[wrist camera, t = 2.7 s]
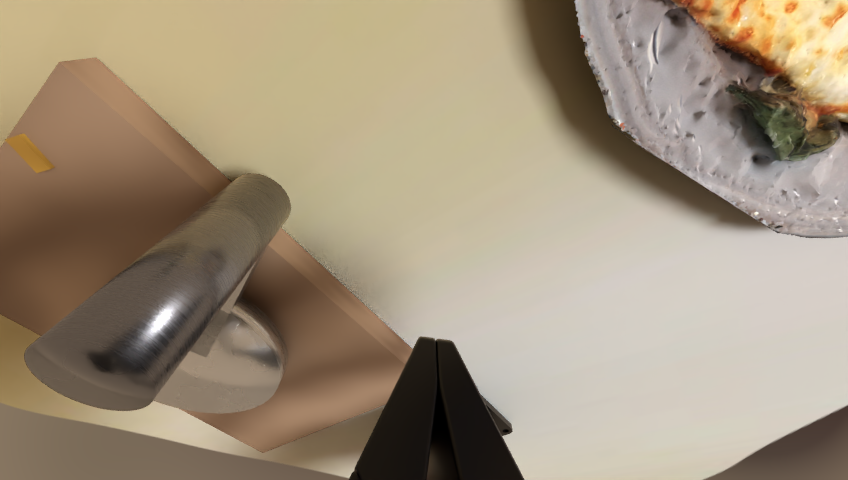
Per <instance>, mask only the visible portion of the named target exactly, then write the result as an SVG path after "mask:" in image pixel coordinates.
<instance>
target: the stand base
mask: <svg viewBox="0 0 848 480" xmlns="http://www.w3.org/2000/svg"><path fill="white" fill-rule="evenodd" d="M230 183H232V182H231V181H230V180H228V179H227V178H226V177H225V176H224V175H223V174H222V173H221V172H220V171H219V170H218V169H217V168H215V167H214V166H213V165H212V164H211V163H210V162H209V161H208V160H207V159H206V158H205V157H204V156H202V155H201V154H200V153H199V152H198V151H197V150H196V149H195V148H194V147H193V146H192V145H191V144H189V143H188V142H187V141H186V140H185V139H184V138H183V137H182V136H181V135H180V134H179V133H177V132H176V131H175V130H174V129H173V128H172V127H171V126H170V125H169V124H168V123H167V122H166V121H164V120H163V119H162V118H161V117H160V116H159V115H158V114H157V113H156V112H155V111H154V110H153V109H151V108H150V107H149V106H148V105H147V104H146V103H145V102H144V101H143V100H142V99H141V98H140V97H138V96H137V95H136V94H135V93H134V92H133V91H132V90H131V89H130V88H129V87H128V86H127V85H125V84H124V83H123V82H122V81H121V80H120V79H119V78H118V77H117V76H116V75H115V74H113V73H112V72H111V71H110V70H109V69H108V68H107V67H106V66H105V65H104V64H103V63H102V62H100V61H99V60H98V59H97V58H89V59H80V60H72V61H64V62H59V63H58V64H57V66H56V67H55V69H54V70H53V72H52V73H51V75H50V76H49V78H48V79H47V81H46V82H45V83H44V85H43V86H42V88H41V89H40V91H39V92H38V94H37V95H36V97H35V98H34V100H33V101H32V103H31V104H30V105H29V107H28V108H27V110H26V111H25V113H24V114H23V116H22V117H21V119H20V120H19V122H18V123H17V124H16V126H15V127H14V129H13V130H12V132H11V133H10V135H9V136H8V138H7V139H5V142H4V143H3V145H2V146H1V148H0V314H1V315H3V316H5V317H7V318H9V319H11V320H12V321H14V322H16V323H18V324H20V325H22V326H24V327H26V328H28V329H30V330H31V331H33V332H35V333H37V334H39V335H41V336H42V335H43V334H45V333H46V332H47V331H48V330H50V329H51V328H52V327H53V326H55V325H56V324H57V323H58V322H59V321H61V320H62V319H63V318H64V317H66V316H67V315H68V314H69V313H71V312H72V311H73V310H74V309H76V308H77V307H78V306H79V305H81V304H82V303H83V302H84V301H85V300H87V299H88V298H89V297H90V296H92V295H93V294H94V293H95V292H97V291H98V290H99V289H100V288H102V287H103V286H104V285H105V284H107V283H108V282H109V281H110V280H112V279H113V278H114V277H115V276H116V275H118V274H119V273H120V272H121V271H123V270H124V269H125V268H126V267H128V266H129V265H130V264H131V263H133V262H134V261H135V260H136V259H138V258H139V257H140V256H141V255H142V254H144V253H145V252H146V251H147V250H149V249H150V248H151V247H152V246H154V245H155V244H156V243H157V242H159V241H160V240H161V239H162V238H164V237H165V236H166V235H167V234H169V233H170V232H171V231H172V230H173V229H175V228H176V227H177V226H178V225H180V224H181V223H182V222H183V221H185V220H186V219H187V218H188V217H190V216H191V215H192V214H193V213H195V212H196V211H197V210H198V209H199V208H201V207H202V206H203V205H204V204H206V203H207V202H208V201H209V200H211V199H212V198H213V197H214V196H216V195H217V194H218V193H219V192H221V191H222V190H223V189H224V188H226V187H227V186H228V185H229V184H230ZM242 297H244V298H246V299H247V300H249V301H250V302H251V303H253V304H254V305H255V306H257V307H258V308H259V309H260V310H261V311H262V312H264V313H265V314H266V315H267V316H268V317H269V318H270V319H271V321H272V322H273V323H274V324H275V325H276V327H277V328H278V330H279V331H280V332H281V334H282V336H283V338H284V340H285V343H286V346H287V350H288V363H287V366H286V370H285V372H284V374H283V377H282V379H281V381H280V384H279V386H278V388H277V390H276V392H275V393H274V395H273V396H272V397H271V398H270V399H269V400H267V401H266V402H265V403H263V404H261V405H259V406H257V407H255V408H252V409H249V410H245V411H241V412H234V413H203V412H195V411H189V410H184V409H181V410H183V411H185V412H187V413H188V414H190V415H192V416H194V417H196V418H198V419H200V420H202V421H204V422H205V423H207V424H209V425H211V426H213V427H215V428H217V429H219V430H221V431H222V432H224V433H226V434H228V435H230V436H232V437H234V438H236V439H238V440H239V441H241V442H243V443H245V444H247V445H249V446H251V447H253V448H255V449H256V450H258V451H260V452H262V453H264V452H266V451H269V450H271V449H274V448H276V447H279V446H281V445H284V444H286V443H289V442H291V441H294V440H297V439H299V438H302V437H304V436H307V435H309V434H312V433H314V432H317V431H319V430H322V429H324V428H327V427H329V426H332V425H334V424H337V423H339V422H342V421H345V420H347V419H350V418H352V417H355V416H357V415H360V414H362V413H365V412H367V411H370V410H372V409H375V408H377V407H380V406H382V405H385V404H386V403H387V401H388V399H389V397H390V395H391V393H392V391H393V389H394V387H395V385H396V383H397V381H398V379H399V377H400V375H401V373H402V371H403V369H404V367H405V365H406V362H407V360H408V358H409V356H410V354H411V352H412V350H413V349H412V348H411V347H410V346H409V345H408V344H406V343H405V342H404V341H403V340H402V339H401V338H400V337H399V336H398V335H397V334H396V333H395V332H393V331H392V330H391V329H390V328H389V327H388V326H387V325H386V324H385V323H384V322H383V321H381V320H380V319H379V318H378V317H377V316H376V315H375V314H374V313H373V312H372V311H371V310H370V309H368V308H367V307H366V306H365V305H364V304H363V303H362V302H361V301H360V300H359V299H358V298H357V297H355V296H354V295H353V294H352V293H351V292H350V291H349V290H348V289H347V288H346V287H345V286H344V285H342V284H341V283H340V282H339V281H338V280H337V279H336V278H335V277H334V276H333V275H332V274H330V273H329V272H328V271H327V270H326V269H325V268H324V267H323V266H322V265H321V264H320V263H319V262H317V261H316V260H315V259H314V258H313V257H312V256H311V255H310V254H309V253H308V252H307V251H306V250H304V249H303V248H302V247H301V246H300V245H299V244H298V243H297V242H296V241H295V240H294V239H293V238H291V237H290V236H289V235H288V234H287V233H286V232H285V231H284V230H283V229H282V228H280V229H279V231H278V232H277V233H276V235H275V236H274V238H273V239H272V240H271V242H270V243H269V244H268V246H267V248H266V250H265V252H264V254H263V256H262V258H261V260H260V262H259V264H258V265H257V267H256V269H255V271H254V273H253V275H252V277H251V279H250V281H249V283H248V285H247V287H246V289H245V290H244V292H243V294H242ZM179 409H180V408H179Z"/></svg>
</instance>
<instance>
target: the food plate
mask: <svg viewBox="0 0 848 480" xmlns="http://www.w3.org/2000/svg"><path fill="white" fill-rule="evenodd" d="M574 3H576V11H578V13H577V15H576V16H577V17H578V26H580V37H581V38H583V42H586V43H584V46H585V52H584V53H585V55H586V57H587V58H588V59H587V60H588V62H589V65H590V67H592V68H591V69H593V74H595V78H596V80H597V83H598V84H599V87H600V88H601V91H602V94H603V96H604V98H603V99H604V100H605V103H606V108H607V113H608V115H609V118H611V119H614V120H613V121H612V122H614V124H615V125H617V126H619V127H621V130H622V131H624V132H627V131H629V132H627V133H629V134H631V136H632V137H633V138H636V140H635V141H634V140H632V139H631V140H632V141H633V142H634V143H636V144H637V145H639V146H640V147H642V148H643V149H645V150H646V151H648V152H649V153H651V154H652V155H654V156H656V155H657V156H656V157H657V158H659V159H661V160H663V161H664V160H665V161H664V162H666V163H667V164H668V165H670V166H672V167H674V168H675V167H676V168H675V169H677V170H679V171H680V172H682V173H683V174H685V175H686V176H687V177H689V178H691V179H692V180H694V181H695V182H697V183H699V184H700V185H702V186H703V187H705V188H706V189H707V190H709V191H711V192H713V193H715V194H717V195H718V196H720V197H721V198H723V199H724V200H726V201H728V202H729V203H731V204H732V205H734V206H735V207H737V208H738V207H739V208H738V209H740V208H741V209H742V211H743V212H744V211H745V213H746V214H748V215H749V216H751V217H753V218H754V219H756V220H757V219H761V222H760V221H759V220H757V221H759V222H760V223H762V224H764V225H765V226H767V225H768V224H769V225H768V226H771V227H774V226H777V227H775V230H774V229H773V231H775V232H777V233H782V234H787V235H788V234H791V235H795V236H800V237H805V238H836V237H848V0H575V1H574ZM589 60H590V61H589ZM611 125H612V124H611ZM612 127H614V126H613V125H612ZM615 129H617V128H615ZM617 130H618V129H617ZM620 132H621V131H620ZM624 135H625V134H624ZM625 136H626V135H625ZM627 137H628V136H627ZM628 138H629V137H628ZM639 140H640V141H639ZM638 141H639V142H638ZM637 142H638V143H639V144H638V143H637ZM641 145H642V146H641ZM643 146H644V147H645V148H644V147H643ZM647 149H648V150H647ZM653 153H654V154H653ZM655 154H656V155H655ZM658 156H659V157H658ZM741 209H740V210H741ZM755 217H756V218H755ZM768 226H767V227H768Z"/></svg>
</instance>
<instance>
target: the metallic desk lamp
mask: <svg viewBox="0 0 848 480" xmlns="http://www.w3.org/2000/svg"><path fill="white" fill-rule="evenodd" d="M290 211H291V204H290V200H289V197H288V195H287V193H286V192H285V190H284V189H283V188H282V187H281V186H280V185H279V184H278V183H277V182H275V181H274V180H272V179H270V178H268V177H266V176H264V175H260V174H245V175H242V176H240V177H238V178H237V179H235V180H234V181H233V182H232V183H230V184H229V185H228V186H227V187H226V188H224V189H223V190H222V191H221V192H219V193H218V194H217V195H216V196H214V197H213V198H212V199H211V200H209V201H208V202H207V203H206V204H204V205H203V206H202V207H201V208H199V209H198V210H197V211H196V212H195V213H193V214H192V215H191V216H190V217H188V218H187V219H186V220H185V221H183V222H182V223H181V224H180V225H178V226H177V227H176V228H175V229H173V230H172V231H171V232H170V233H169V234H167V235H166V236H165V237H164V238H162V239H161V240H160V241H159V242H157V243H156V244H155V245H154V246H152V247H151V248H150V249H149V250H147V251H146V252H145V253H144V254H142V255H141V256H140V257H139V258H138V259H136V260H135V261H134V262H133V263H131V264H130V265H129V266H128V267H126V268H125V269H124V270H123V271H121V272H120V273H119V274H118V275H116V276H115V277H114V278H113V279H112V280H110V281H109V282H108V283H107V284H105V285H104V286H103V287H102V288H100V289H99V290H98V291H97V292H95V293H94V294H93V295H92V296H90V297H89V298H88V299H87V300H85V301H84V302H83V303H82V304H81V305H79V306H78V307H77V308H76V309H74V310H73V311H72V312H71V313H69V314H68V315H67V316H66V317H64V318H63V319H62V320H61V321H59V322H58V323H57V324H56V325H55V326H53V327H52V328H51V329H50V330H48V331H47V332H46V333H45V334H43V335H42V336H41V337H40V338H38V339H37V340H36V341H35V342H33V343H32V344H31V345H30V346H29V347H28V348H27V349H26V351H25V355H24V358H25V362H26V365H27V366H28V368H29V370H30V371H31V372H32V373H33V374H34V375H35V376H36V377H37V378H38V379H39V380H40V381H41V382H42V383H44V384H45V385H47V386H48V387H49V388H51V389H53V390H54V391H56V392H58V393H60V394H62V395H64V396H66V397H68V398H70V399H72V400H75V401H78V402H80V403H83V404H86V405H90V406H93V407H97V408H102V409H108V410H116V411H131V410H137V409H141V408H144V407H146V406H148V405H149V404H150V403H151V402H152V401H153V400H154V401H156V402H159V403H162V404H165V405H169V406H172V407H176V408H180V409H184V410H189V411H195V412H203V413H234V412H241V411H245V410H249V409H252V408H255V407H257V406H259V405H261V404H263V403H265V402H266V401H267V400H269V399H270V398H271V397H272V396H273V395H274V393H275V392H276V390H277V388H278V386H279V384H280V381H281V379H282V377H283V374H284V372H285V370H286V366H287V363H288V350H287V346H286V343H285V340H284V338H283V336H282V334H281V332H280V331H279V330H278V328H277V327H276V325H275V324H274V323H273V322H272V321H271V319H270V318H269V317H268V316H267V315H266V314H265V313H264V312H262V311H261V310H260V309H259V308H258V307H257V306H255V305H254V304H253V303H251V302H250V301H249V300H247V299H246V298H244V297H242V294H243V292H244V290H245V289H246V287H247V285H248V283H249V281H250V279H251V277H252V275H253V273H254V271H255V269H256V267H257V265H258V264H259V262H260V260H261V258H262V256H263V254H264V252H265V250H266V248H267V246H268V244H269V243H270V242H271V240H272V239H273V238H274V236H275V235H276V233H277V232H278V231H279V229H280V228H281V227H282V225H283V224H284V223H285V221H286V220H287V219H288V217H289V215H290Z"/></svg>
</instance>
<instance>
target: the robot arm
mask: <svg viewBox="0 0 848 480" xmlns="http://www.w3.org/2000/svg"><path fill="white" fill-rule="evenodd" d="M511 432H512V425H511V423H510V422H508V421H507V420H506V419H505V418H504V417H503V416H502V415H501V414H500V413H499V412H498V411H497V410H496V409H495V408H494V407H493V406H492V405H491V404H490V403H489V402H488V401H487V400H486V399H485V398H484V397H483V396H482V395H481V394H480V393H479V391H478V389H477V387H476V385H475V383H474V381H473V379H472V377H471V375H470V373H469V371H468V370H467V368H466V366H465V364H464V362H463V360H462V358H461V356H460V354H459V352H458V350H457V348H456V346H455V344H454V343H453V342H452V341H450V340H444V339H437V340H436V341H435V339H434V338H429V337H419V338H418V340H417V342H416V344H415V346H414V348H413V350H412V352H411V354H410V356H409V358H408V360H407V362H406V365H405V367H404V369H403V371H402V373H401V375H400V377H399V379H398V381H397V383H396V385H395V387H394V389H393V391H392V393H391V395H390V397H389V399H388V401H387V403H386V405H385V407H384V409H383V411H382V414H381V416H380V418H379V420H378V422H377V424H376V426H375V428H374V430H373V432H372V434H371V436H370V438H369V440H368V442H367V444H366V446H365V448H364V450H363V452H362V454H361V456H360V458H359V460H358V462H357V465H356V467H355V471H354V472H353V473H352V474H351V476H350V478H349V480H524V478H523V476H522V474H521V472H520V470H519V468H518V466H517V464H516V462H515V460H514V459H513V457H512V455H511V453H510V451H509V449H508V447H507V445H506V443H505V441H504V439H503V437H502V436H504V435H507V434H510V433H511Z"/></svg>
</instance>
